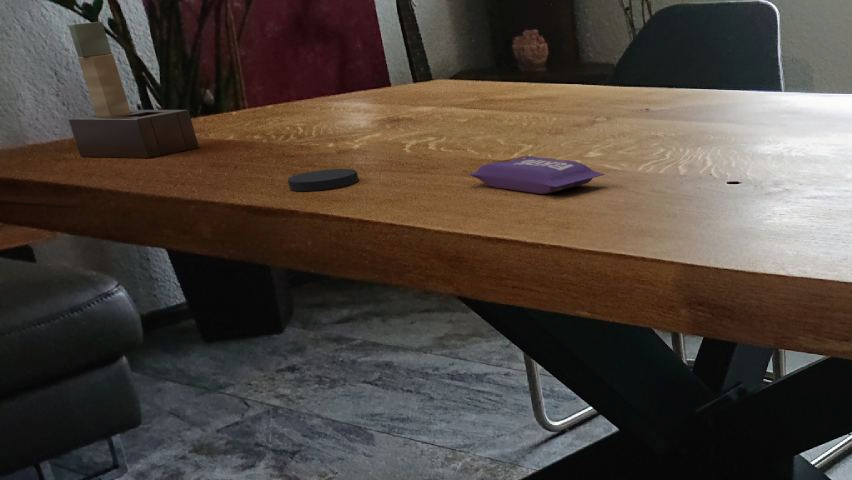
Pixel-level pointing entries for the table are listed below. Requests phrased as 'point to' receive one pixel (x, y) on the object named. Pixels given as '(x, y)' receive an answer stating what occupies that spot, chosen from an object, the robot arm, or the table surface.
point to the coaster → (323, 180)
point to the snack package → (535, 174)
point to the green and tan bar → (99, 69)
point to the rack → (134, 134)
